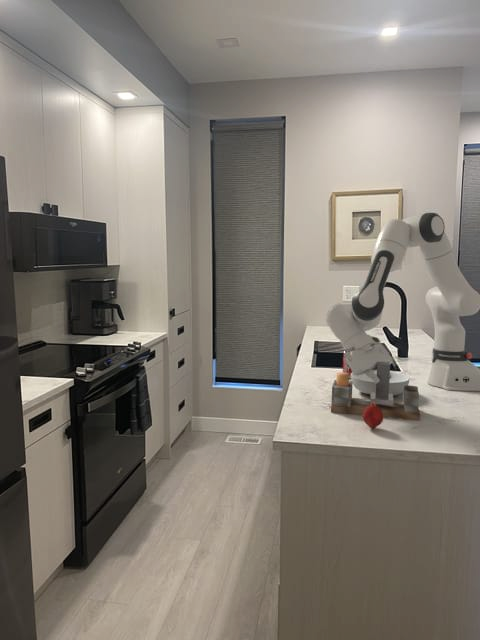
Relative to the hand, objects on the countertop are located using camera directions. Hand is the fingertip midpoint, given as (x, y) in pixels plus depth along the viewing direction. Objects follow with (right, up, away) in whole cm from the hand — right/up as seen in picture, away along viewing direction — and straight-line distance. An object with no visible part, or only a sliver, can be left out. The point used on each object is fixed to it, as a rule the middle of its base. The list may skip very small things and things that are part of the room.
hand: (384, 380), depth 161 cm
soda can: (0, -5, +47) cm, 47 cm away
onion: (-8, -13, -15) cm, 21 cm away
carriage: (-1, -7, +1) cm, 7 cm away
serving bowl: (+5, -8, +23) cm, 25 cm away
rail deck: (-3, -10, +2) cm, 11 cm away
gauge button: (-13, -6, +5) cm, 15 cm away
